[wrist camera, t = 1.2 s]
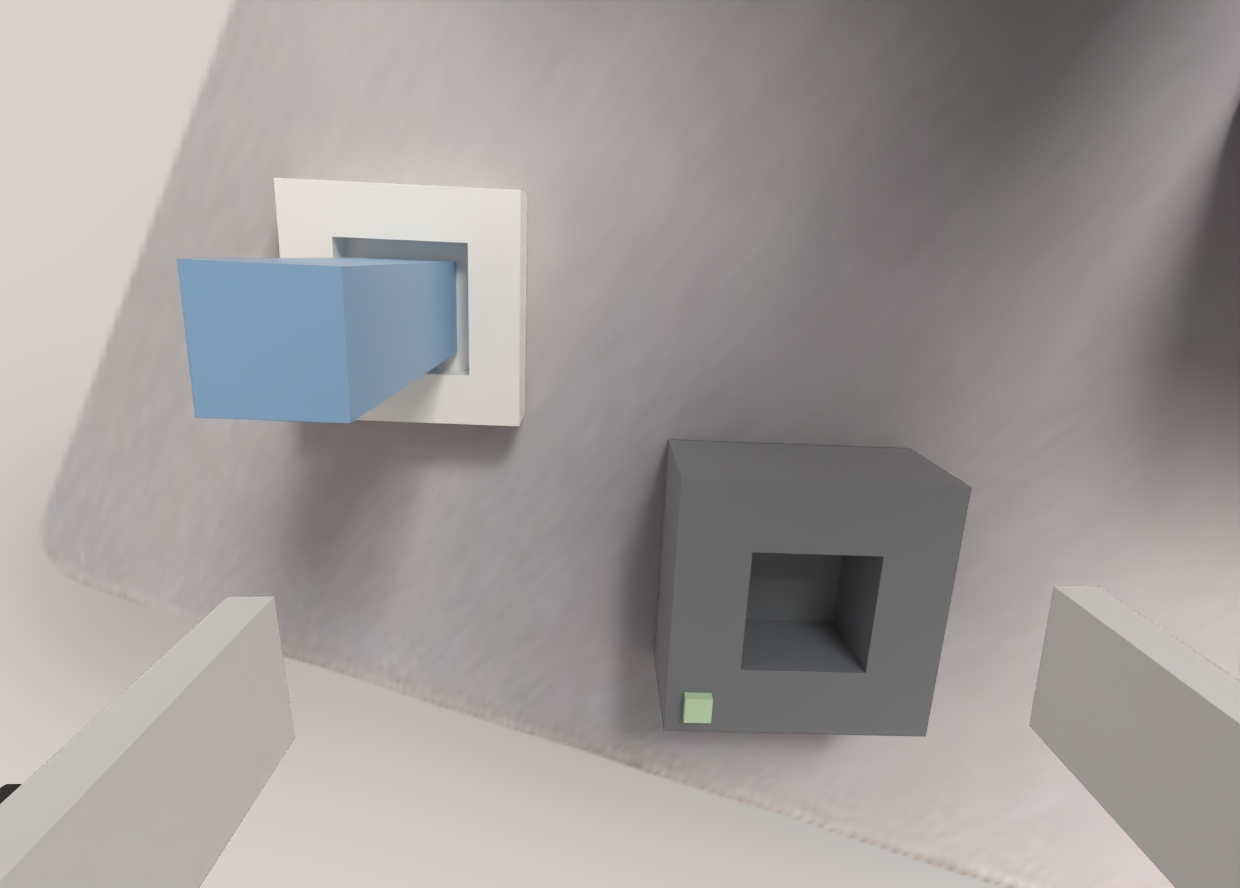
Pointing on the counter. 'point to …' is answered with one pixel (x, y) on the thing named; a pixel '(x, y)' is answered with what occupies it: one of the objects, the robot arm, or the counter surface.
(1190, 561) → the counter surface
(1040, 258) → the counter surface
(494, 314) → the holster
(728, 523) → the port
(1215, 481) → the counter surface
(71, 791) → the robot arm
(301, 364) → the plug
